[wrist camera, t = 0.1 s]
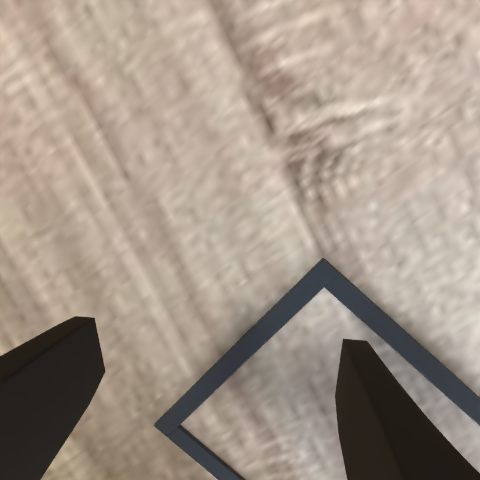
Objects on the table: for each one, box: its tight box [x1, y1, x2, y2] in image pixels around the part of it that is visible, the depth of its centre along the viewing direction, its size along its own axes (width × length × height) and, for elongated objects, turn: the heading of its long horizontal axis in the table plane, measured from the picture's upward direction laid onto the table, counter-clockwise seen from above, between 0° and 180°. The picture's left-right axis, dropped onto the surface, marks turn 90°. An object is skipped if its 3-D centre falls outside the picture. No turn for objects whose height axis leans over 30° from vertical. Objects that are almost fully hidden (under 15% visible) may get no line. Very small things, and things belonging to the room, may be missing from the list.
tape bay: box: [154, 258, 480, 480], centre depth 22 cm, size 16×17×1 cm
